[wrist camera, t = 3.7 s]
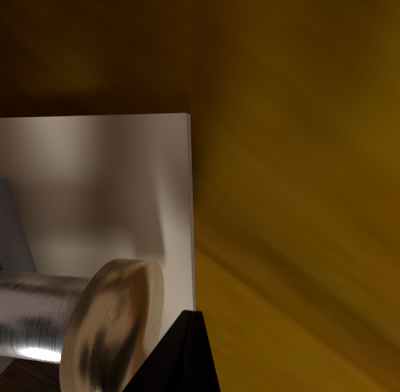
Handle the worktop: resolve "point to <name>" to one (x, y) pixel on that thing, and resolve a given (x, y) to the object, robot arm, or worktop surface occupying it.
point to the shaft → (84, 322)
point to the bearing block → (99, 198)
